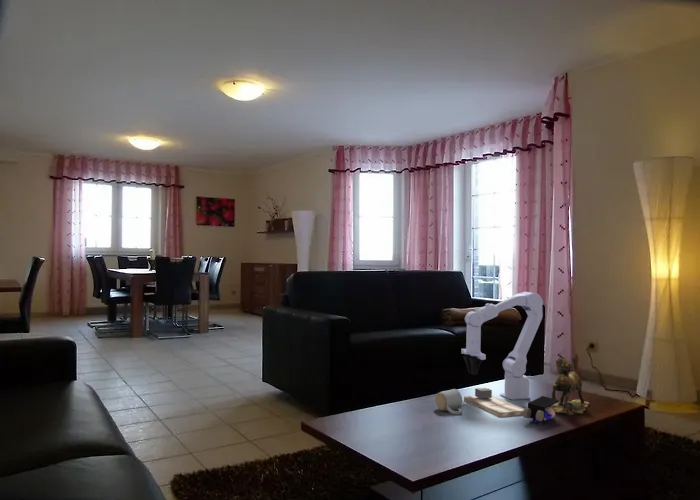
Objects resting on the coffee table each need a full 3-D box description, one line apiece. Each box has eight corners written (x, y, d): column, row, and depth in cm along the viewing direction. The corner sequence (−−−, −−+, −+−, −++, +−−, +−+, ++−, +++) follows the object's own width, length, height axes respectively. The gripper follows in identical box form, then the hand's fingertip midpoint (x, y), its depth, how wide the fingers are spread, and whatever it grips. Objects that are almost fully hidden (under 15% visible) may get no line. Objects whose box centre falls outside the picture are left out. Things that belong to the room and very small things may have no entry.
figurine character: (541, 432, 173) (560, 418, 184) (540, 410, 172) (559, 397, 183) (522, 427, 178) (541, 414, 188) (521, 406, 177) (541, 393, 188)
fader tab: (485, 395, 207) (485, 387, 207) (491, 397, 203) (491, 389, 203) (475, 396, 205) (475, 388, 205) (481, 398, 201) (481, 390, 201)
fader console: (489, 398, 210) (489, 394, 210) (527, 414, 189) (527, 409, 189) (463, 400, 206) (463, 396, 206) (499, 416, 184) (500, 412, 184)
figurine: (541, 410, 194) (542, 356, 195) (567, 398, 212) (568, 349, 213) (576, 418, 185) (577, 361, 186) (600, 405, 203) (601, 354, 204)
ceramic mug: (433, 408, 193) (434, 388, 193) (450, 406, 197) (451, 386, 197) (450, 416, 184) (451, 395, 184) (468, 414, 188) (468, 393, 188)
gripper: (455, 338, 217) (454, 371, 216) (475, 344, 203) (474, 378, 203) (469, 338, 219) (469, 370, 219) (490, 343, 206) (489, 377, 205)
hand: (472, 374), depth 211 cm, fingers closed
